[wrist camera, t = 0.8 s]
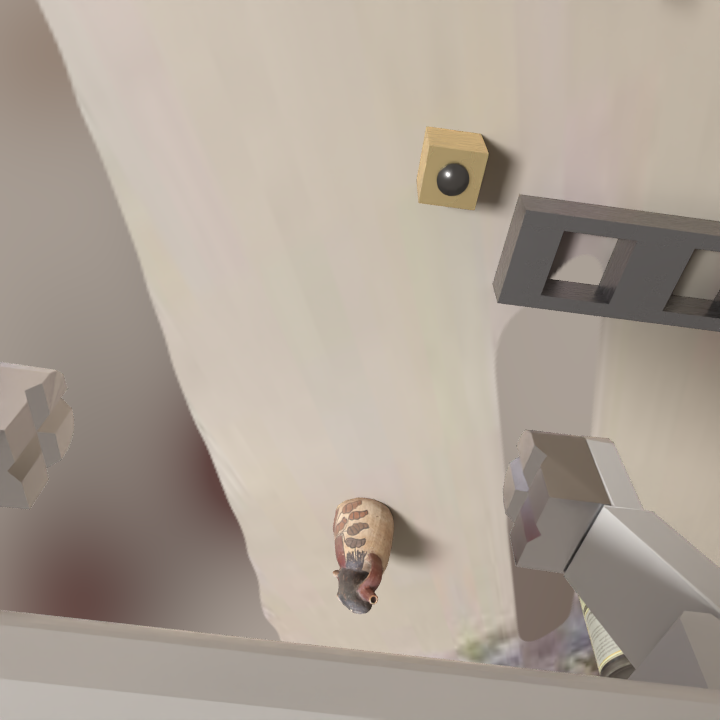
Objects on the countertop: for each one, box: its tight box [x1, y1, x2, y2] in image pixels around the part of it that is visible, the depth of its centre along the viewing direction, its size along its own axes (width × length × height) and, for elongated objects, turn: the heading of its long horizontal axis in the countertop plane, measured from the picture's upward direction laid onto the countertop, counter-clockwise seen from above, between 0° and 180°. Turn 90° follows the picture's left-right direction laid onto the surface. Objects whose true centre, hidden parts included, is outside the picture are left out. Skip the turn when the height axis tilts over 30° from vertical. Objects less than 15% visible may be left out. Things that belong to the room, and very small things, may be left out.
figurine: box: [333, 498, 394, 614], centre depth 64 cm, size 7×7×12 cm
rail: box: [493, 194, 720, 332], centre depth 46 cm, size 8×22×3 cm, turn 83°
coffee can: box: [578, 595, 636, 679], centre depth 67 cm, size 10×10×14 cm
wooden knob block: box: [417, 126, 489, 210], centre depth 41 cm, size 4×4×5 cm
